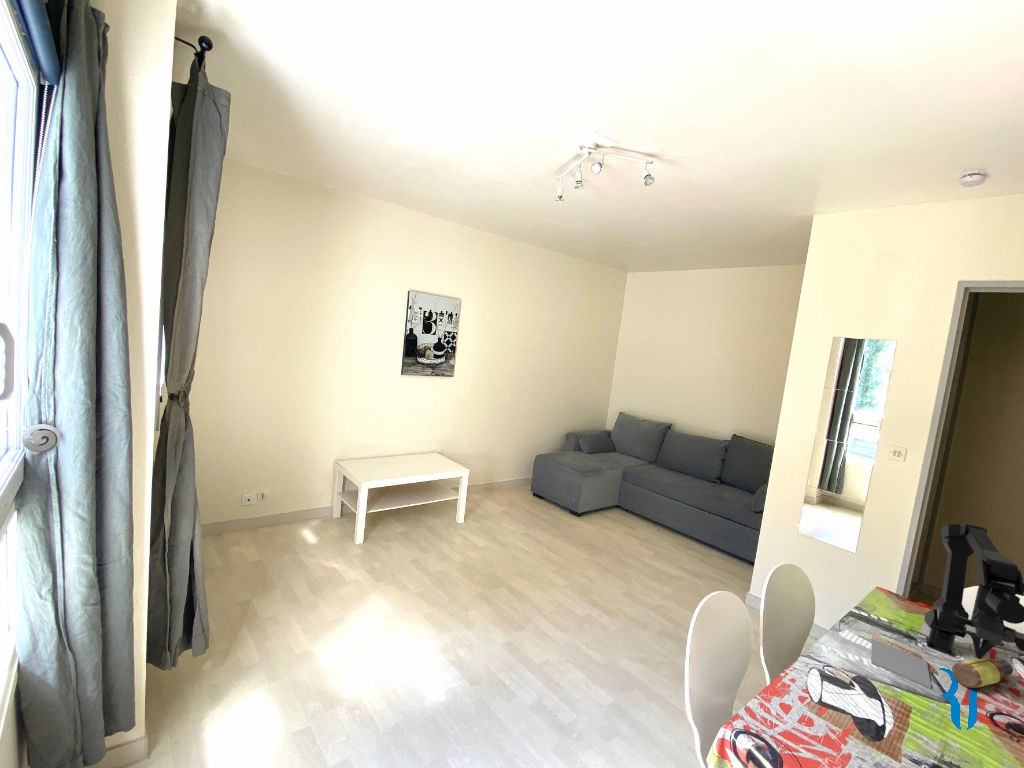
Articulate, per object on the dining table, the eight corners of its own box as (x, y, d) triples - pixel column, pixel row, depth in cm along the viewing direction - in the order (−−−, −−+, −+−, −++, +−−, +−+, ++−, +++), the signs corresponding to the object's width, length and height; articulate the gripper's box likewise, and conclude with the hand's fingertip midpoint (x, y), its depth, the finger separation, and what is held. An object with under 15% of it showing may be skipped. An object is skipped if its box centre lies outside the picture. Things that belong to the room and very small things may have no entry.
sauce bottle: (975, 693, 124) (1020, 686, 130) (979, 671, 124) (1023, 665, 130) (947, 677, 131) (990, 670, 137) (950, 656, 130) (993, 650, 136)
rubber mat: (872, 640, 144) (872, 639, 144) (926, 662, 136) (926, 661, 136) (871, 663, 133) (871, 661, 133) (930, 688, 125) (931, 686, 125)
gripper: (945, 599, 123) (933, 652, 124) (1049, 634, 111) (1035, 693, 112) (942, 585, 131) (931, 636, 133) (1039, 616, 119) (1025, 671, 121)
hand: (978, 658), depth 124 cm, fingers closed
